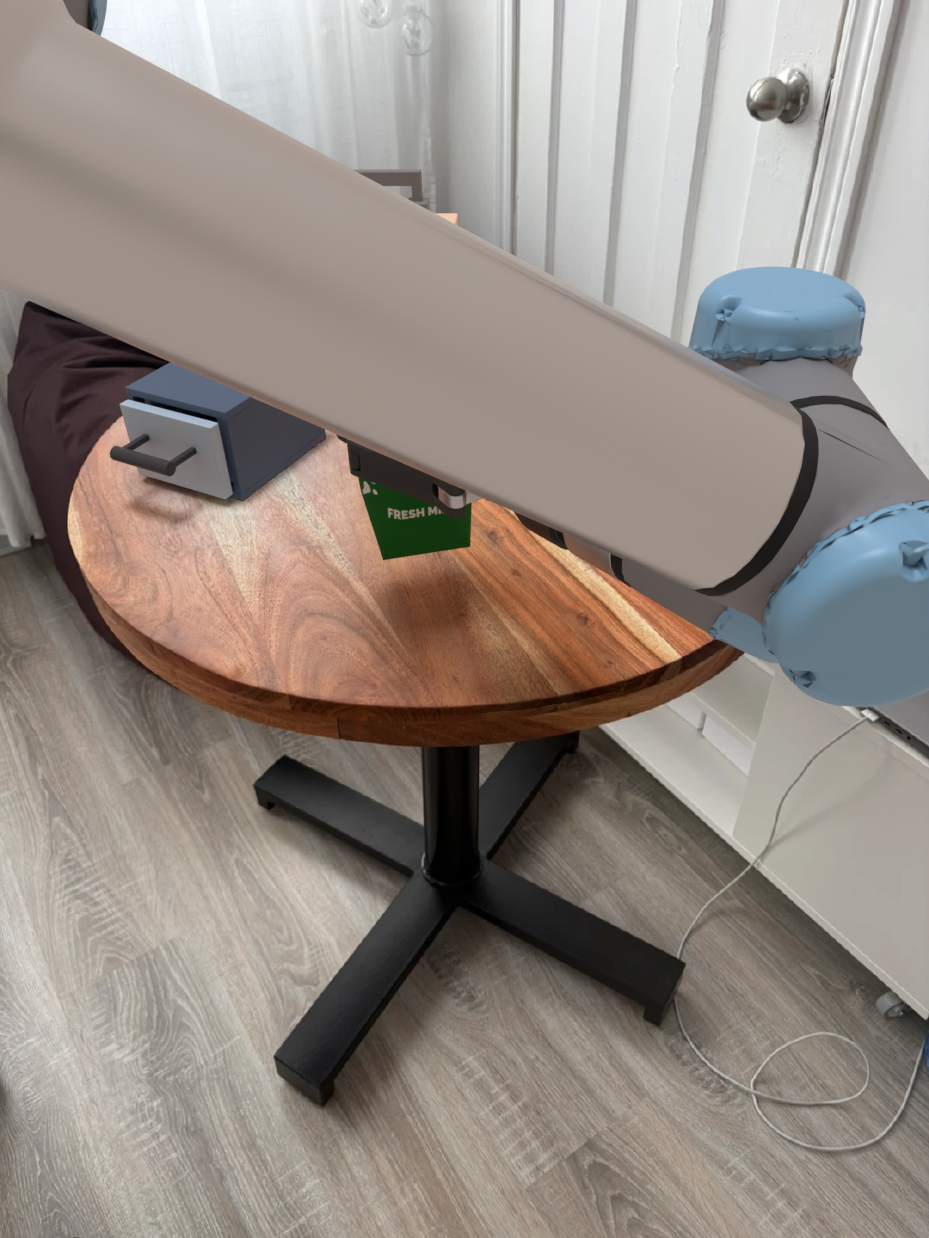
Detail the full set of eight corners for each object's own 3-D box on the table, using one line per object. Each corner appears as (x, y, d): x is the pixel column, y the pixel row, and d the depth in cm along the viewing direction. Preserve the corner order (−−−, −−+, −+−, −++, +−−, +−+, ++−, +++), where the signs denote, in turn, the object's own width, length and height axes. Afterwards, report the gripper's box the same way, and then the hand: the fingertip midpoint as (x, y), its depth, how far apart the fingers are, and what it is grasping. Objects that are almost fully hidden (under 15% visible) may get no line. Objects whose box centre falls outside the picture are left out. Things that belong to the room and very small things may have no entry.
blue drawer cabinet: (242, 501, 92) (225, 412, 86) (147, 472, 97) (124, 387, 91) (326, 437, 102) (315, 354, 96) (236, 414, 107) (220, 334, 100)
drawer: (194, 522, 87) (177, 449, 82) (106, 494, 92) (84, 423, 87) (306, 440, 100) (296, 372, 95) (223, 418, 104) (209, 352, 99)
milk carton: (461, 493, 78) (448, 253, 66) (484, 553, 71) (475, 297, 59) (359, 508, 77) (325, 266, 65) (372, 570, 70) (338, 314, 58)
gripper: (468, 621, 54) (261, 478, 67) (697, 487, 65) (480, 387, 78) (466, 513, 49) (243, 382, 62) (713, 388, 60) (479, 299, 73)
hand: (375, 385), depth 70 cm, fingers closed on milk carton, 9 cm apart
